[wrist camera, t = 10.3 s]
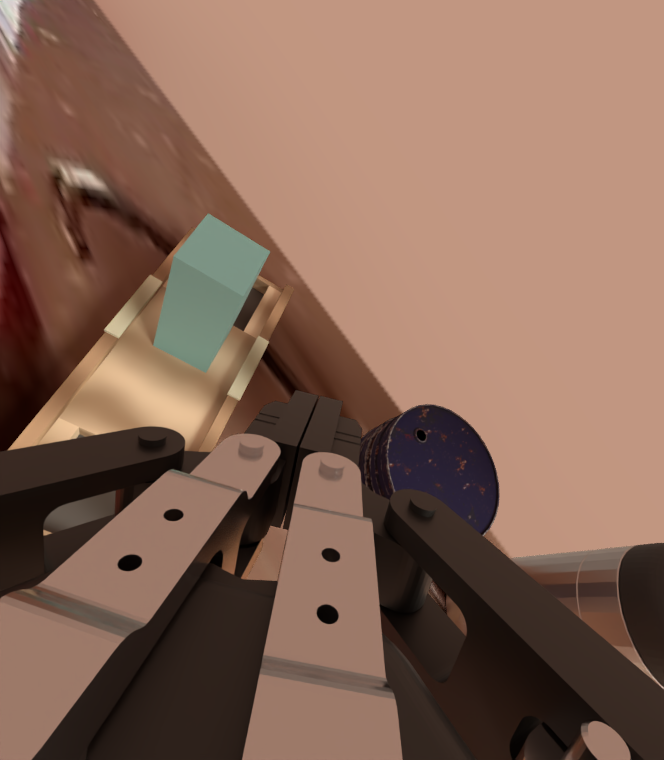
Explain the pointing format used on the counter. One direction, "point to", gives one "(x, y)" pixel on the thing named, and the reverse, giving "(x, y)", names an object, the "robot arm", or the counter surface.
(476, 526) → the navy cylinder
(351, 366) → the counter surface
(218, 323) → the teal block
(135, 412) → the box
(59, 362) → the counter surface
